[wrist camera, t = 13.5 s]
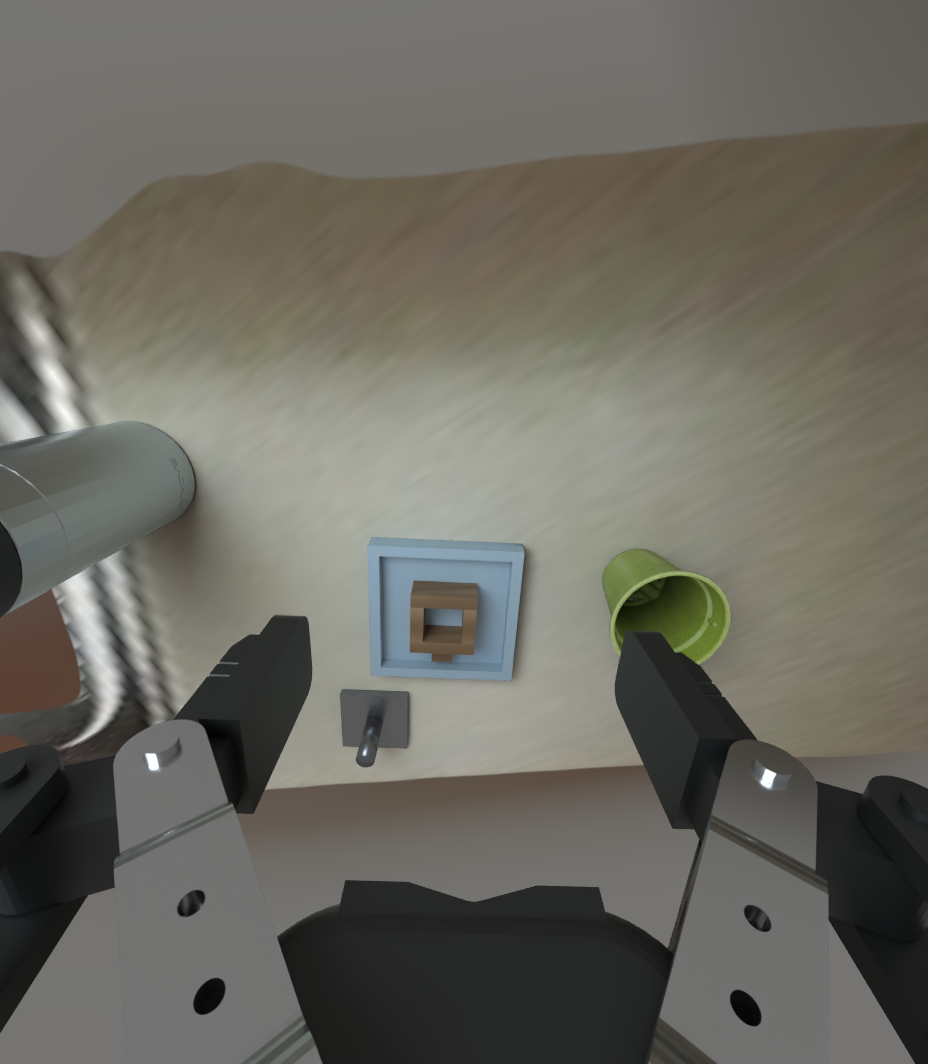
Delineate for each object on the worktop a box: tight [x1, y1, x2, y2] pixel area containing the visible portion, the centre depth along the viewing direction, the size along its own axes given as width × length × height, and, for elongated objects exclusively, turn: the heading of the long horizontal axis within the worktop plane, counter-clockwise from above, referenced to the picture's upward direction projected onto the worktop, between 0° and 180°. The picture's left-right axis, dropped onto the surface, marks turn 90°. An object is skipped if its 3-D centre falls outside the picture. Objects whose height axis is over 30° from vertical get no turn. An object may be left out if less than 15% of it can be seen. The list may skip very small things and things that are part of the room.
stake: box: [340, 689, 408, 767], centre depth 48 cm, size 7×7×6 cm
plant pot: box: [602, 549, 731, 665], centre depth 40 cm, size 9×9×9 cm
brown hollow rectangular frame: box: [410, 580, 478, 662], centre depth 44 cm, size 8×6×3 cm
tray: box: [368, 537, 525, 681], centre depth 45 cm, size 14×14×2 cm
